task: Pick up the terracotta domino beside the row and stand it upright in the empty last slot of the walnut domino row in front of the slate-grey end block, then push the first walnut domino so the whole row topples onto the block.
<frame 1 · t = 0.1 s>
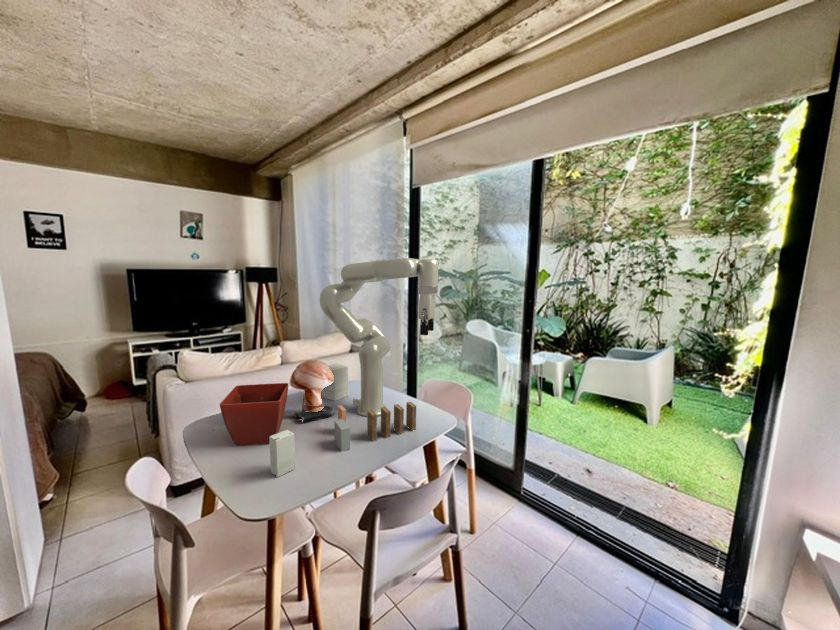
hand: (426, 332, 140), 37 cm above the table, tool pointing down, fingers open, 9 cm apart
domino 1: (410, 428, 136), on the table
supplement box: (335, 396, 166), on the table
domino end: (341, 432, 131), on the table
domino 4: (371, 437, 128), on the table
plant pot: (258, 436, 127), on the table
domino 2: (398, 431, 133), on the table
skincare box: (283, 471, 106), on the table
domino 3: (385, 434, 131), on the table
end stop: (342, 445, 122), on the table
electronic device: (316, 417, 145), on the table
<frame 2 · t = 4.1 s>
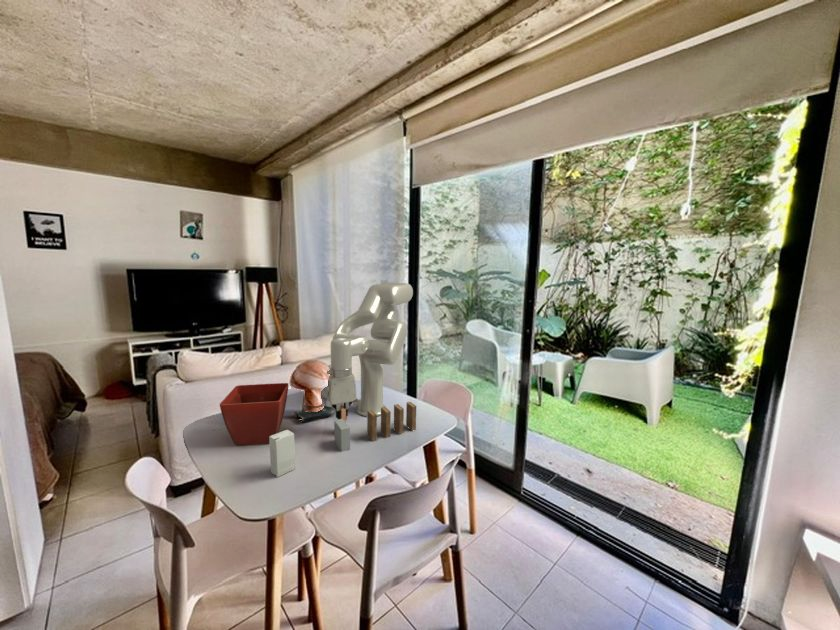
hand: (341, 418, 130), 6 cm above the table, tool pointing down, fingers closed on domino end, 1 cm apart
domino end: (341, 432, 131), on the table, touching gripper
everything else where it was.
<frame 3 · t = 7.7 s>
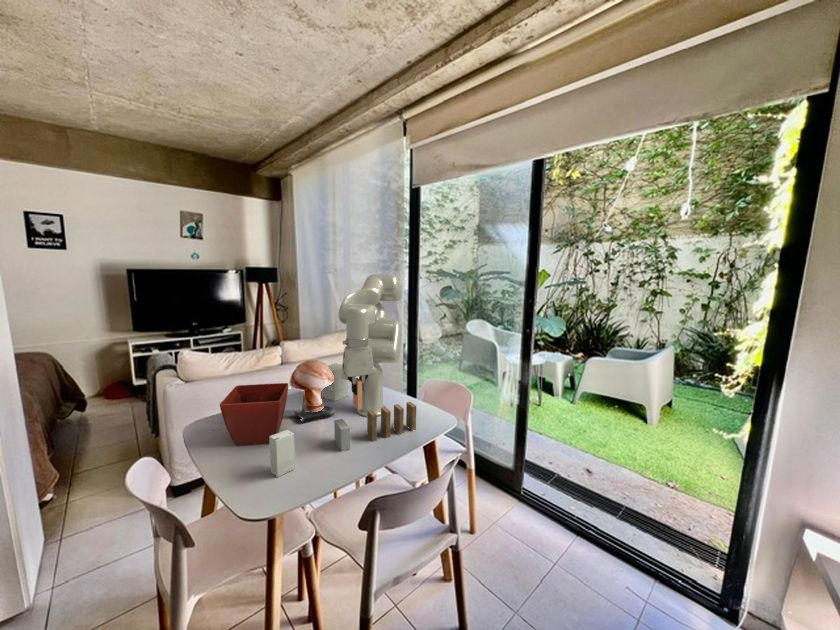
hand: (357, 393, 122), 18 cm above the table, tool pointing down, fingers closed on domino end, 1 cm apart
domino end: (357, 406, 123), point 13 cm above the table, touching gripper
everything else where it was.
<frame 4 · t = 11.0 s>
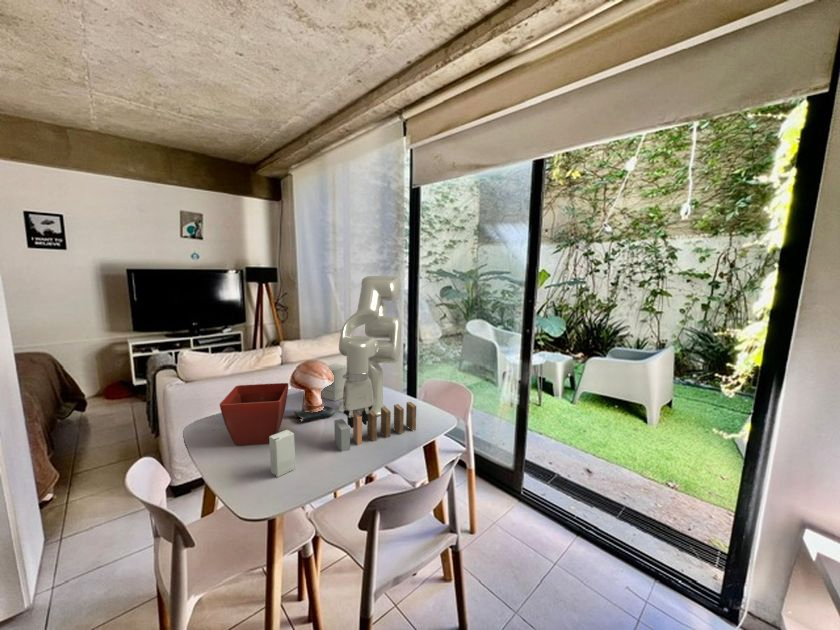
hand: (357, 424, 124), 7 cm above the table, tool pointing down, fingers open, 4 cm apart
domino end: (357, 441, 125), on the table
everything else where it was.
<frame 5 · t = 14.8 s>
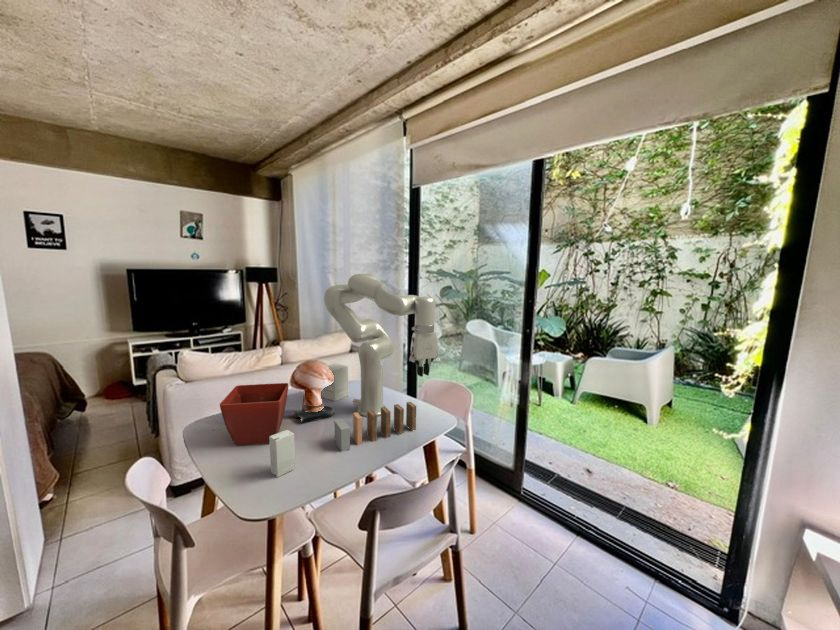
hand: (423, 374, 136), 21 cm above the table, tool pointing down, fingers closed
nothing on the table moved.
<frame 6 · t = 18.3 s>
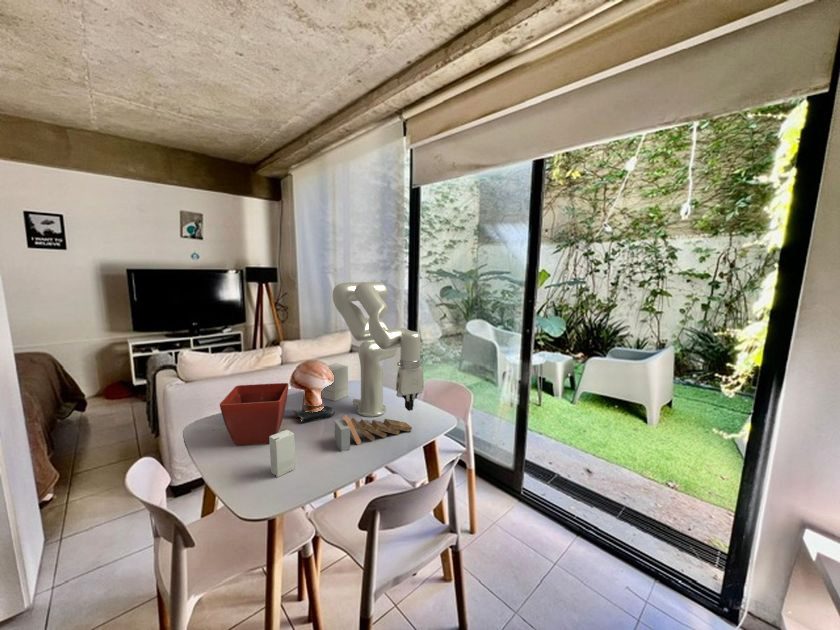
hand: (409, 409, 134), 8 cm above the table, tool pointing down, fingers closed
domino 1: (408, 427, 135), point 1 cm above the table, tilted 68°, touching domino 2
domino end: (357, 440, 125), on the table, tilted 23°, touching domino 4, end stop
domino 4: (371, 436, 128), point 1 cm above the table, tilted 43°, touching domino 3, domino end
domino 2: (396, 430, 133), point 1 cm above the table, tilted 64°, touching domino 1, domino 3
domino 3: (383, 433, 130), point 1 cm above the table, tilted 55°, touching domino 2, domino 4
everything else where it was.
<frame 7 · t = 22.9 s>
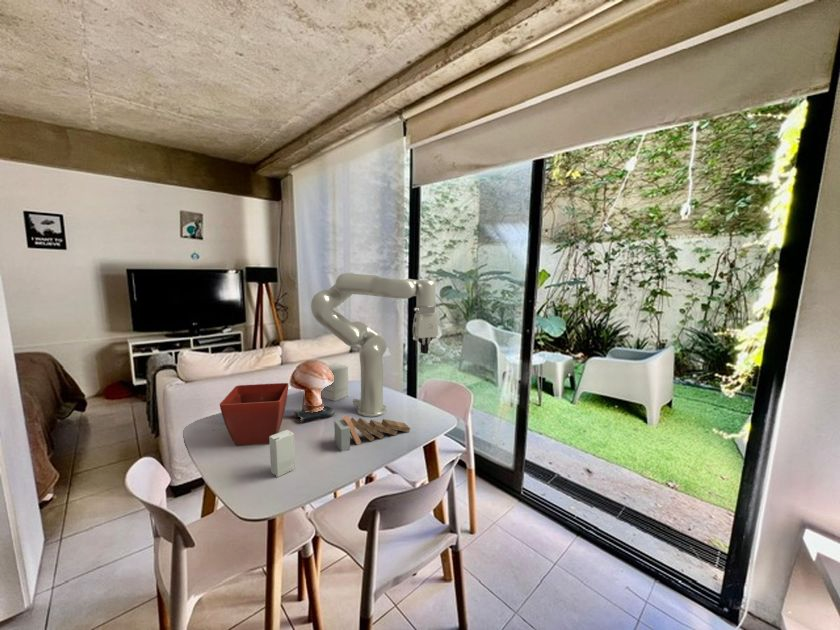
hand: (424, 352, 145), 27 cm above the table, tool pointing down, fingers closed
domino 3: (380, 434, 129), point 1 cm above the table, tilted 49°, touching domino 2, domino 4
at the end: domino end tilted 22°; domino end touching domino 4, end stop, table; domino 3 tilted 49° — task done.
